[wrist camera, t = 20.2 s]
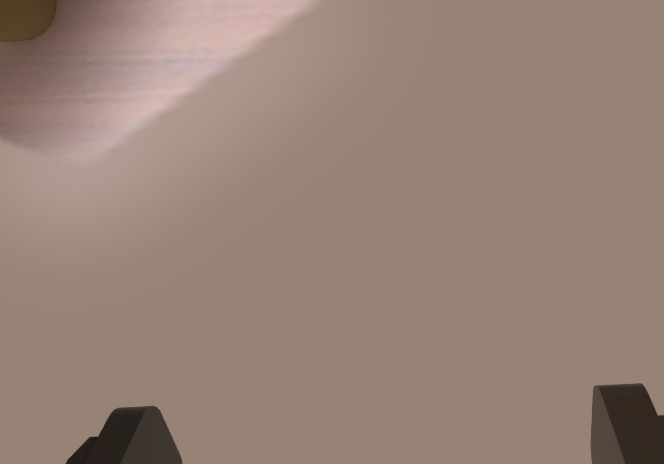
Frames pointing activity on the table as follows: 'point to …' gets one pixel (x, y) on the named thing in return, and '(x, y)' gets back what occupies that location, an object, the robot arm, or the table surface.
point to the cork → (25, 18)
